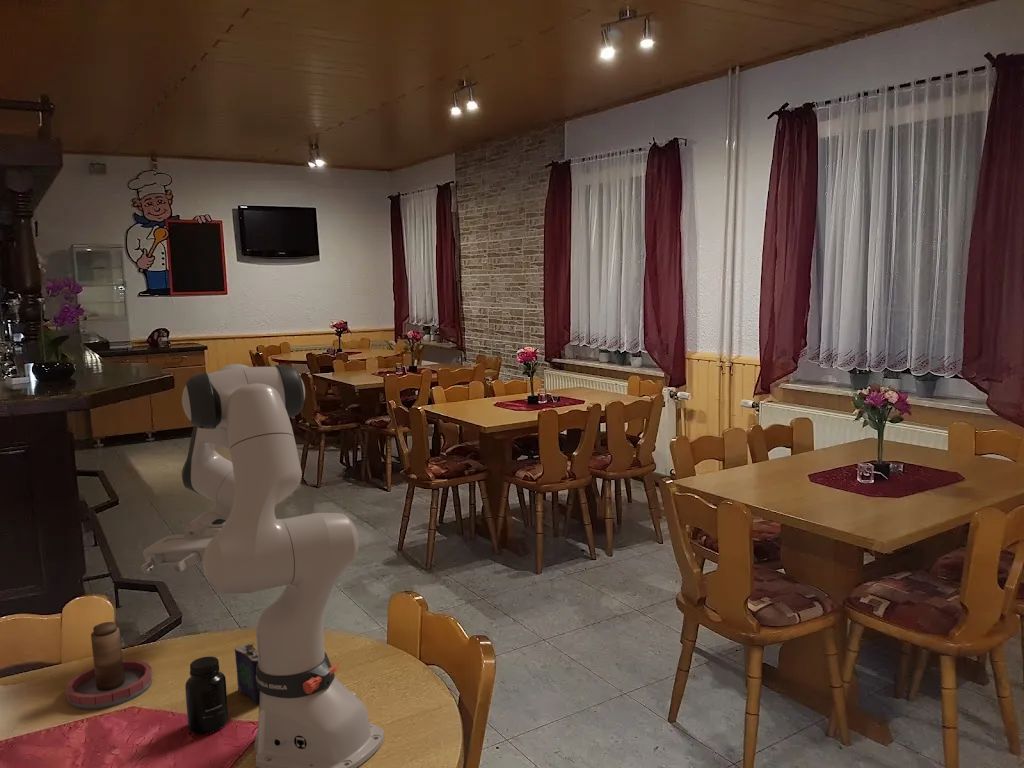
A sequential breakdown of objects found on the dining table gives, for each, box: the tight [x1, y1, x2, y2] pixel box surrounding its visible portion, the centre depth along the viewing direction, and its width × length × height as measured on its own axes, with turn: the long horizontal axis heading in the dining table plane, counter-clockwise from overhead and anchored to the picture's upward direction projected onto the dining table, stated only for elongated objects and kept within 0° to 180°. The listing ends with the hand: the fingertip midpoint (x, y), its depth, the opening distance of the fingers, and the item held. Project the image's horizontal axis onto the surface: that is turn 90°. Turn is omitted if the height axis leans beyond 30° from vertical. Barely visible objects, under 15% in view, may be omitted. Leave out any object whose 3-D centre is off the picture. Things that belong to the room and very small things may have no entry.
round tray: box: [65, 659, 153, 711], centre depth 155 cm, size 15×15×2 cm
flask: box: [234, 641, 260, 707], centre depth 150 cm, size 9×3×11 cm, turn 45°
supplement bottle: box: [184, 656, 229, 735], centre depth 140 cm, size 7×7×12 cm
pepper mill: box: [90, 621, 125, 691], centre depth 154 cm, size 5×5×12 cm
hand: (160, 569), depth 162 cm, fingers open, 8 cm apart
